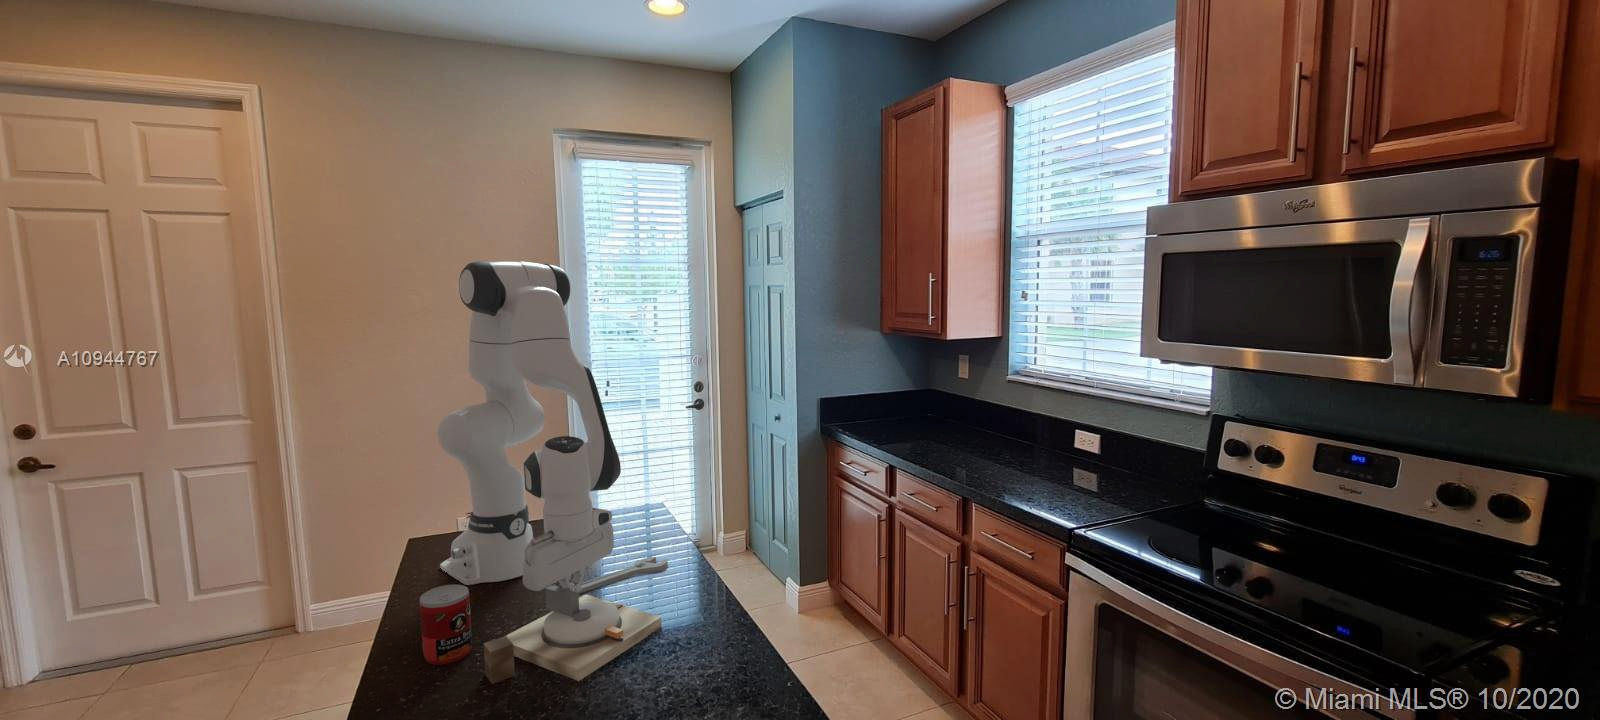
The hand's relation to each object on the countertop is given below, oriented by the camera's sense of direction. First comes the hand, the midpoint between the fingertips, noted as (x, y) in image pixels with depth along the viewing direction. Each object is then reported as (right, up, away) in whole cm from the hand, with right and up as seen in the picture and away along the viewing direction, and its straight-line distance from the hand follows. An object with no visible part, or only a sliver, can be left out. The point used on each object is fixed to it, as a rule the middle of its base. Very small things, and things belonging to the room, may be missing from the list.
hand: (572, 593), depth 128 cm
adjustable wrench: (+2, -4, +20) cm, 21 cm away
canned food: (-18, -7, -10) cm, 22 cm away
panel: (+4, -6, -6) cm, 9 cm away
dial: (+4, -4, -6) cm, 8 cm away
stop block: (-6, -8, -17) cm, 20 cm away
